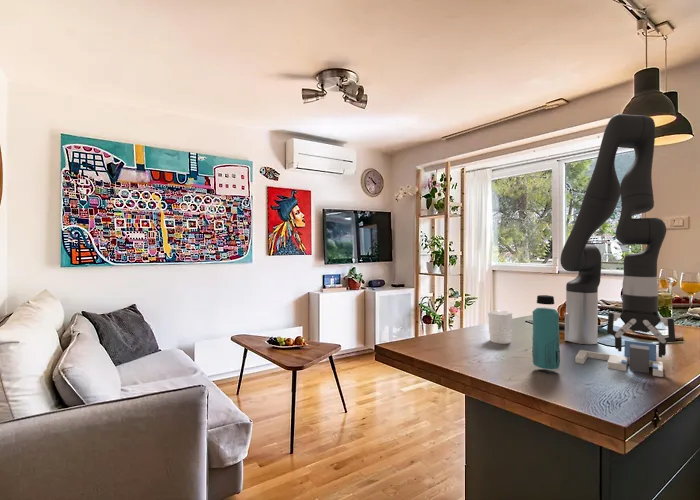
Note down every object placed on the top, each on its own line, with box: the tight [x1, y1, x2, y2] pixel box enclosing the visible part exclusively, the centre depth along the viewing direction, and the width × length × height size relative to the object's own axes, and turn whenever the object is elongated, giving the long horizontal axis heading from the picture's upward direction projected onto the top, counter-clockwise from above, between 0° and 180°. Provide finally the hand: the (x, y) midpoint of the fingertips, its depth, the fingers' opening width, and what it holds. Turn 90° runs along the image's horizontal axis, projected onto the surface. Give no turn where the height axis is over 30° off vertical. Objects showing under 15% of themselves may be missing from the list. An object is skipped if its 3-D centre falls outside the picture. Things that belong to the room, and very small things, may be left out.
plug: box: [629, 344, 650, 374], centre depth 100 cm, size 4×4×6 cm
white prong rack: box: [574, 339, 664, 378], centre depth 103 cm, size 19×10×6 cm, turn 51°
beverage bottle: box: [531, 294, 561, 370], centre depth 98 cm, size 6×7×20 cm
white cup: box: [487, 310, 513, 345], centre depth 129 cm, size 8×8×10 cm
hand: (639, 353), depth 100 cm, fingers open, 8 cm apart
